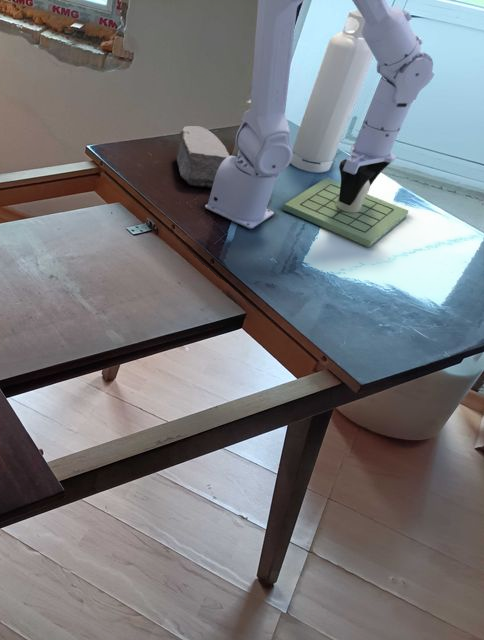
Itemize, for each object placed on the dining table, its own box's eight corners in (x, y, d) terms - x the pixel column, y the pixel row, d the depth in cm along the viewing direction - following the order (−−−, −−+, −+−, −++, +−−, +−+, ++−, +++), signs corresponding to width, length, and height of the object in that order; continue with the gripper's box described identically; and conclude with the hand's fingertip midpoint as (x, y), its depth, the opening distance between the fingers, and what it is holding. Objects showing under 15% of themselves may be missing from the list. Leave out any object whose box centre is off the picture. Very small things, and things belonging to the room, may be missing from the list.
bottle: (339, 169, 136) (398, 19, 118) (307, 174, 134) (363, 22, 115) (311, 152, 142) (364, 5, 123) (280, 156, 139) (329, 8, 121)
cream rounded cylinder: (331, 205, 122) (344, 174, 118) (342, 198, 124) (354, 167, 120) (353, 215, 120) (367, 183, 116) (364, 207, 122) (378, 176, 118)
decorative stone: (196, 197, 124) (241, 187, 127) (203, 162, 120) (250, 152, 123) (153, 162, 135) (196, 154, 138) (158, 128, 130) (202, 121, 133)
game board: (282, 209, 122) (284, 203, 121) (323, 183, 131) (325, 176, 130) (368, 247, 114) (371, 240, 113) (406, 216, 123) (409, 210, 122)
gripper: (387, 144, 106) (354, 221, 115) (423, 121, 114) (389, 194, 123) (344, 129, 109) (315, 204, 118) (382, 107, 117) (352, 179, 126)
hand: (350, 198), depth 121 cm, fingers closed on cream rounded cylinder, 4 cm apart
